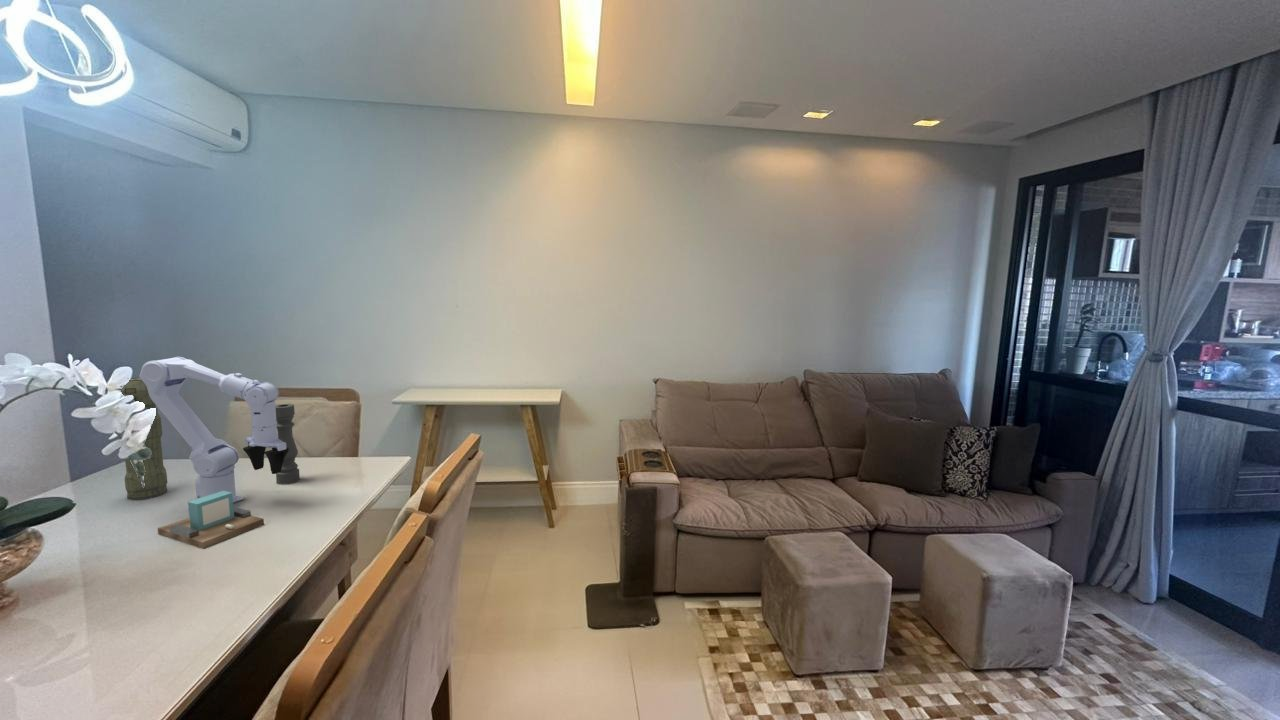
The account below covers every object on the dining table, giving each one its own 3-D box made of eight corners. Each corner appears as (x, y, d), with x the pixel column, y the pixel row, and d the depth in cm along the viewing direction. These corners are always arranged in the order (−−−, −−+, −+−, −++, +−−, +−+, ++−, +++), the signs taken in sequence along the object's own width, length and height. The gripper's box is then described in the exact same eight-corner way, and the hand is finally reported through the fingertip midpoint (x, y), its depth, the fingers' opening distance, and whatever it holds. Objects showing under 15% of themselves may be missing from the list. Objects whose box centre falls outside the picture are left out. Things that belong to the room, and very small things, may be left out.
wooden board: (158, 533, 127) (157, 523, 127) (220, 511, 140) (219, 502, 140) (203, 548, 121) (202, 537, 121) (263, 524, 134) (263, 514, 134)
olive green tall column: (120, 504, 143) (106, 383, 139) (133, 490, 153) (121, 376, 149) (162, 498, 148) (150, 381, 143) (172, 484, 158) (161, 374, 153)
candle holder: (303, 480, 165) (298, 405, 162) (281, 486, 160) (276, 408, 156) (294, 476, 168) (289, 402, 165) (273, 481, 163) (267, 406, 160)
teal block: (190, 528, 128) (188, 501, 127) (225, 515, 135) (223, 490, 134) (199, 530, 127) (196, 504, 126) (234, 517, 134) (232, 492, 133)
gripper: (232, 425, 144) (236, 471, 146) (266, 432, 139) (270, 479, 140) (258, 420, 150) (261, 464, 152) (292, 425, 145) (295, 471, 147)
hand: (267, 470), depth 147 cm, fingers open, 7 cm apart
